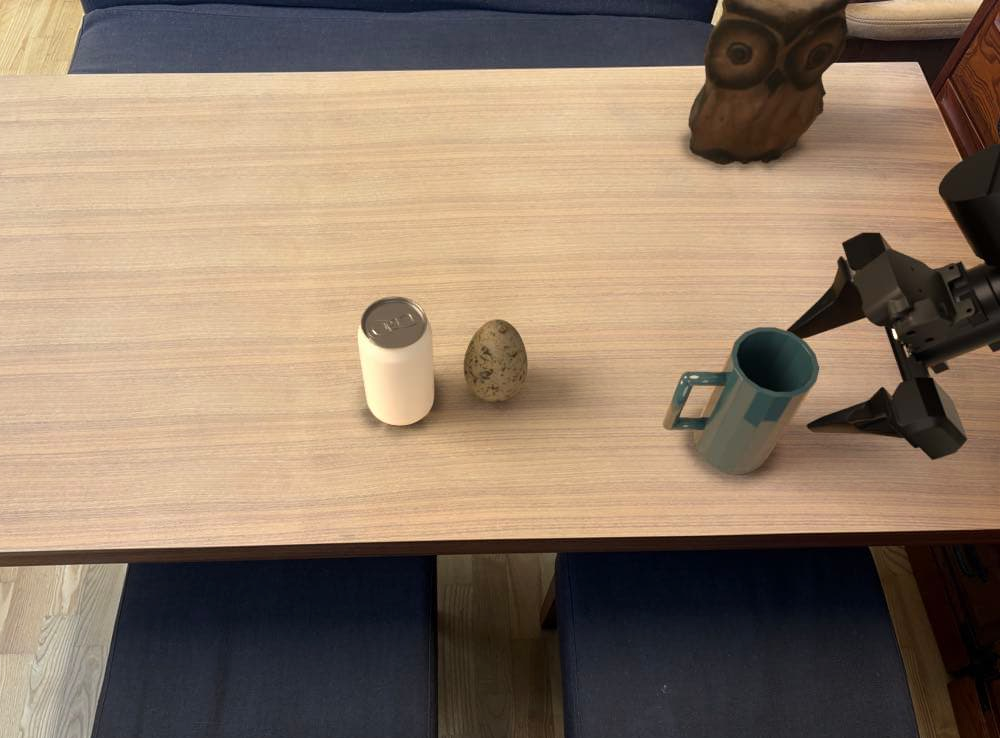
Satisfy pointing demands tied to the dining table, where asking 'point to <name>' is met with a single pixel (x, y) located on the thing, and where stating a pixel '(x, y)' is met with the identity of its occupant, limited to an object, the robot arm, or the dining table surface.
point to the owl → (764, 77)
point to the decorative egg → (495, 361)
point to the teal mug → (747, 399)
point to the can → (397, 360)
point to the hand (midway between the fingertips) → (796, 381)
